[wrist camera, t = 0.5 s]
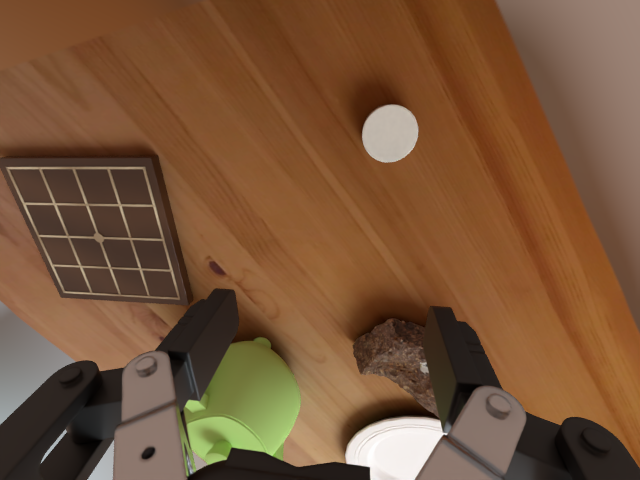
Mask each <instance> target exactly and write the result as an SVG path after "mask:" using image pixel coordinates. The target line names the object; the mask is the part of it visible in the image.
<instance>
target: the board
mask: <svg viewBox="0 0 640 480" xmlns="http://www.w3.org/2000/svg"><path fill="white" fill-rule="evenodd" d="M0 168H1V171H2V173H3V175H4V177H5V179H6V181H7V183H8V186H9V188H10V190H11V192H12V194H13V196H14V198H15V200H16V203H17V205H18V207H19V209H20V211H21V213H22V215H23V218H24V220H25V222H26V224H27V226H28V228H29V230H30V232H31V235H32V237H33V239H34V241H35V243H36V245H37V247H38V250H39V252H40V254H41V256H42V258H43V260H44V262H45V264H46V267H47V269H48V271H49V273H50V275H51V277H52V279H53V281H54V284H55V286H56V288H57V290H58V292H59V294H60V296H61V298H77V299H94V300H110V301H126V302H143V303H159V304H175V305H189V304H190V303H191V302H192V301H193V296H192V292H191V288H190V284H189V280H188V276H187V272H186V268H185V264H184V260H183V255H182V251H181V247H180V243H179V239H178V235H177V231H176V227H175V223H174V219H173V215H172V211H171V207H170V203H169V199H168V195H167V191H166V187H165V183H164V179H163V174H162V170H161V166H160V162H159V158H158V156H17V157H2V158H0Z"/></svg>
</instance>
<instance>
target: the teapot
mask: <svg viewBox="0 0 640 480" xmlns="http://www.w3.org/2000/svg"><path fill="white" fill-rule="evenodd" d="M300 404H301V397H300V391H299V387H298V384H297V382H296V380H295V378H294V374H293V373H292V372H291V370H290V368H289V367H288V365H287V364H286V363H285V362H284V360H283V359H282V358H281V357H280V356H279V355H277V354H276V353H275V352H274V351H273V350H271V343H270V342H269V340H267V339H266V338H263V337H258V338H255V339H254V341H241V342H236V343H232V344H230V346H229V348H228V350H227V352H226V354H225V355H224V357H223V359H222V361H221V363H220V365H219V367H218V369H217V370H216V372H215V374H214V376H213V378H212V380H211V382H210V383H209V385H208V387H207V389H206V391H205V393H204V395H203V397H202V398H201V400H200V401H193V400H188V402H187V403H186V405H185V407H184V411H185V416H186V421H187V427H188V432H189V437H190V443H191V448H192V450H193V451H194V452H195V453H196V454H197V455H198V456H199V457H201V458H202V459H203V460H205V462H206V463H207V464H208V465H209V464H212V463H214V462H218V461H221V460H227V457H228V455H229V452H230V449H231V447H232V448H239V449H246V450H253V451H260V452H265V453H267V454H269V455H271V456H274V457H276V458H278V459H280V460H282V461H283V444H284V440H285V439H286V437H287V436H288V435H289V433H290V431H291V429H292V427H293V425H294V423H295V420H296V418H297V416H298V413H299V409H300Z"/></svg>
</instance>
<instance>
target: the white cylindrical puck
mask: <svg viewBox="0 0 640 480" xmlns="http://www.w3.org/2000/svg"><path fill="white" fill-rule="evenodd" d="M417 138H418V124H417V121H416V119H415V117H414V115H413V114H412V113H411V112H410V111H409V110H408V109H407V108H405V107H403V106H400V105H396V104H384V105H381V106H379V107H377V108H375V109H374V110H373V111H371V112H370V114H369V115H368V116H367V118H366V119H365V121H364V124H363V128H362V141H363V145H364V147H365V149H366V151H367V152H368V154H369V155H370V156H371V157H373V158H374V159H376V160H378V161H381V162H395V161H398V160H400V159H402V158H404V157H405V156H406V155H408V154H409V153H410V152H411V150H412V149H413V147H414V146H415V144H416V141H417Z"/></svg>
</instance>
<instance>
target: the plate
mask: <svg viewBox="0 0 640 480" xmlns="http://www.w3.org/2000/svg"><path fill="white" fill-rule="evenodd" d="M444 434H445V435H447V434H448V433H443V431H442V427H441V422H440V419H439V418H434V417H429V416H412V415H404V416H397V417H390V418H385V419H382V420H379V421H376V422H374V423H371V424H368V425H367V426H365V427H364V428H362V429H361V430H359V431H358V432H356V433H355V435H354V436H353V437H352V438H351V440H350V441H349V442H348V445H347V449H346V452H345V458H346V464H353V465H360V466H367V467H370V480H415V478H416V476H417V475H418V473H419V472H420V470H421V468H422V467H423V465H424V464H425V462H426V460H427V459H428V457H429V456H430V454H431V452H432V451H433V449H434V447H435V446H436V444H437V443H438V441H439V440H440V438H441V437H442V436H443V435H444Z"/></svg>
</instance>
